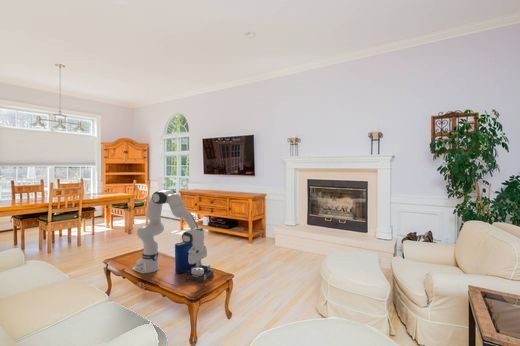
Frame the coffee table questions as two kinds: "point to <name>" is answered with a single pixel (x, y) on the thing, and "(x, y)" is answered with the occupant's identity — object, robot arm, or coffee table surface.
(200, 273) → the block
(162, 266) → the coffee table surface
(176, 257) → the book
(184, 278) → the coffee table surface
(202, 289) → the coffee table surface
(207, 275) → the rack
